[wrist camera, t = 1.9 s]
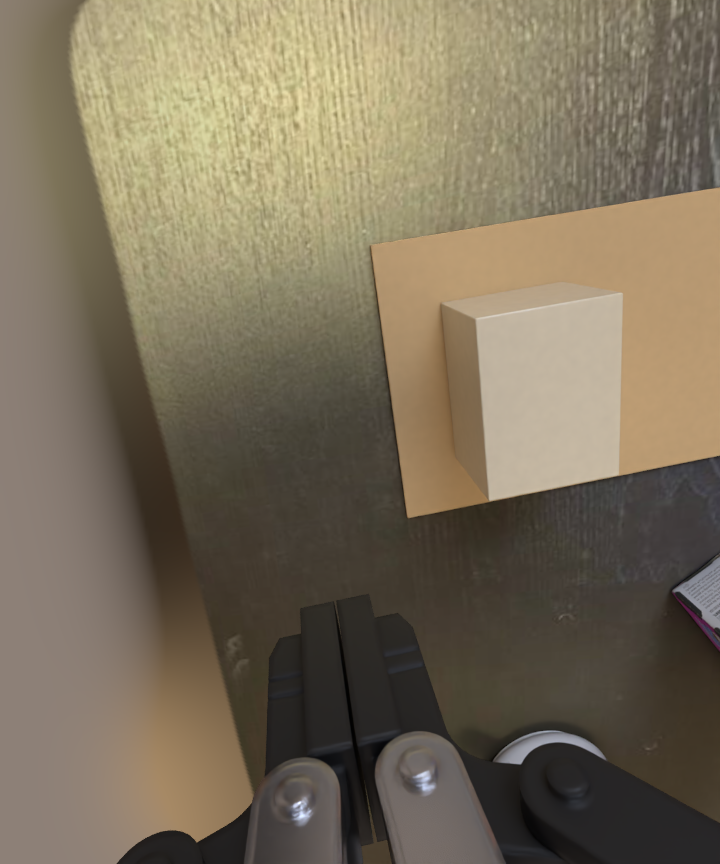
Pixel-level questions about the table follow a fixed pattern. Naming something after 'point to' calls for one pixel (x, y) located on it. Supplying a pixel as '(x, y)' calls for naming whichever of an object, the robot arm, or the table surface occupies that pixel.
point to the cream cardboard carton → (535, 386)
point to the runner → (579, 264)
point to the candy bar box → (703, 598)
